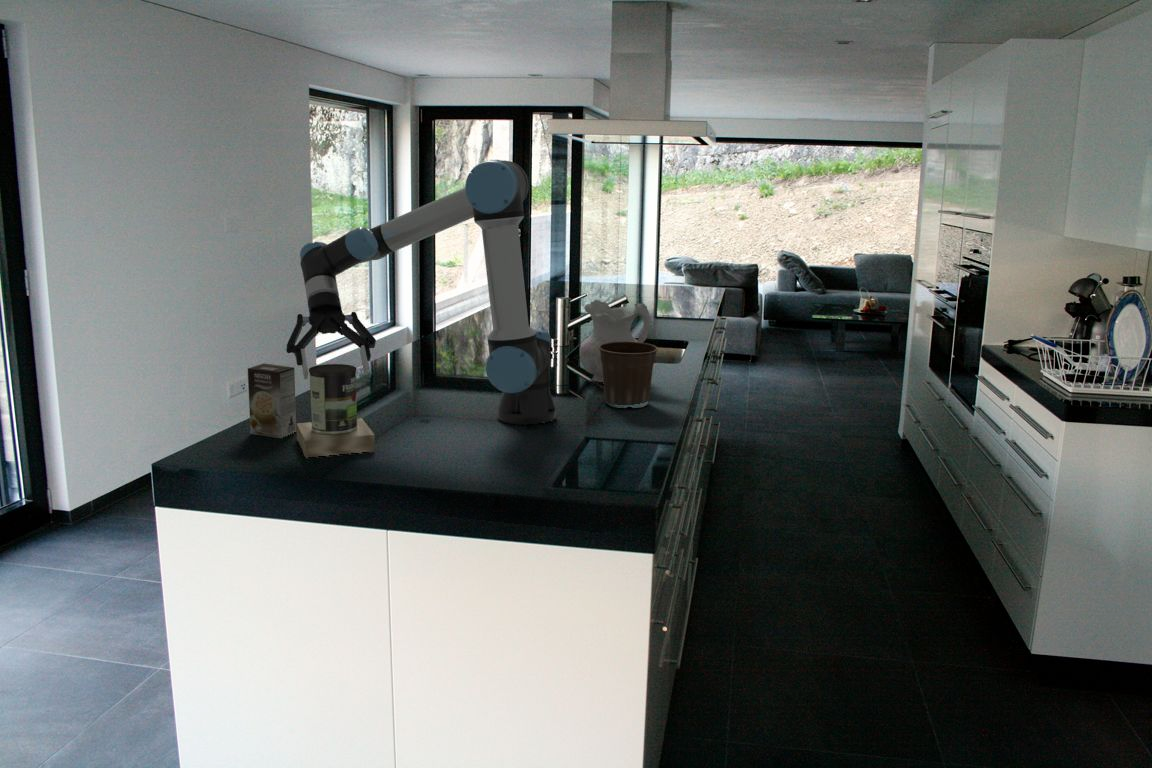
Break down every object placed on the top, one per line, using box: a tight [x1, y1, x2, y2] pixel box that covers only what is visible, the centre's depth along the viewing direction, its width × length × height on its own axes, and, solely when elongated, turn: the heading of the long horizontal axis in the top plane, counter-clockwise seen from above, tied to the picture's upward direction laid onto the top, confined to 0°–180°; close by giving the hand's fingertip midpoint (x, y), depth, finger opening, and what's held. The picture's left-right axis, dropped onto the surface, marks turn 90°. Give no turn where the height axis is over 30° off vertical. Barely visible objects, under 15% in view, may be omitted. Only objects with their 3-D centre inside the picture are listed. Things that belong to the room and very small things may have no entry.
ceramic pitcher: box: [579, 299, 651, 382], centre depth 286 cm, size 22×20×25 cm
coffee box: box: [247, 363, 297, 439], centre depth 223 cm, size 9×6×16 cm
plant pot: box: [598, 342, 659, 405], centre depth 259 cm, size 16×16×16 cm
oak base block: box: [296, 417, 376, 459], centre depth 216 cm, size 15×15×4 cm
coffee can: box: [308, 363, 358, 434], centre depth 214 cm, size 10×10×14 cm
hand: (336, 374), depth 216 cm, fingers open, 13 cm apart
